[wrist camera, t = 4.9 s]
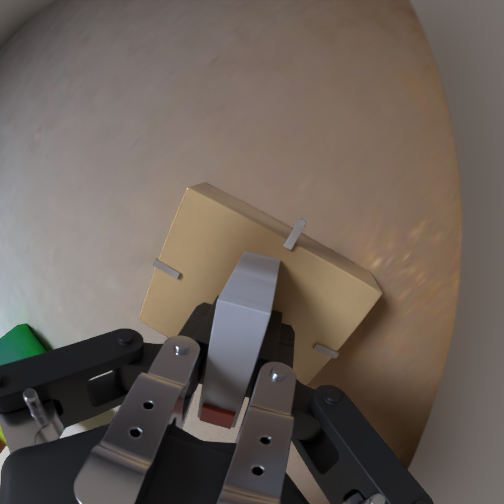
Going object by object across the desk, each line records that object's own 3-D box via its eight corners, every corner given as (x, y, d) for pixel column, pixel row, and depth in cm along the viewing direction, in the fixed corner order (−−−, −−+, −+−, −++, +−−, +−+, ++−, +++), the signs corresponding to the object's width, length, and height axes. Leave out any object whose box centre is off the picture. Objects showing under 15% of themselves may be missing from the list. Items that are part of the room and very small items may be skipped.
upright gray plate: (244, 250, 12) (214, 303, 8) (280, 259, 12) (270, 318, 8) (222, 354, 14) (195, 421, 10) (251, 362, 14) (233, 432, 10)
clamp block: (384, 256, 14) (399, 276, 11) (288, 381, 18) (286, 410, 15) (211, 161, 14) (193, 162, 11) (150, 311, 17) (131, 333, 15)
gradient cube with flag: (29, 316, 21) (-69, 399, 7) (94, 391, 22) (17, 495, 8) (14, 350, 24) (-55, 415, 10) (64, 408, 26) (7, 483, 12)
